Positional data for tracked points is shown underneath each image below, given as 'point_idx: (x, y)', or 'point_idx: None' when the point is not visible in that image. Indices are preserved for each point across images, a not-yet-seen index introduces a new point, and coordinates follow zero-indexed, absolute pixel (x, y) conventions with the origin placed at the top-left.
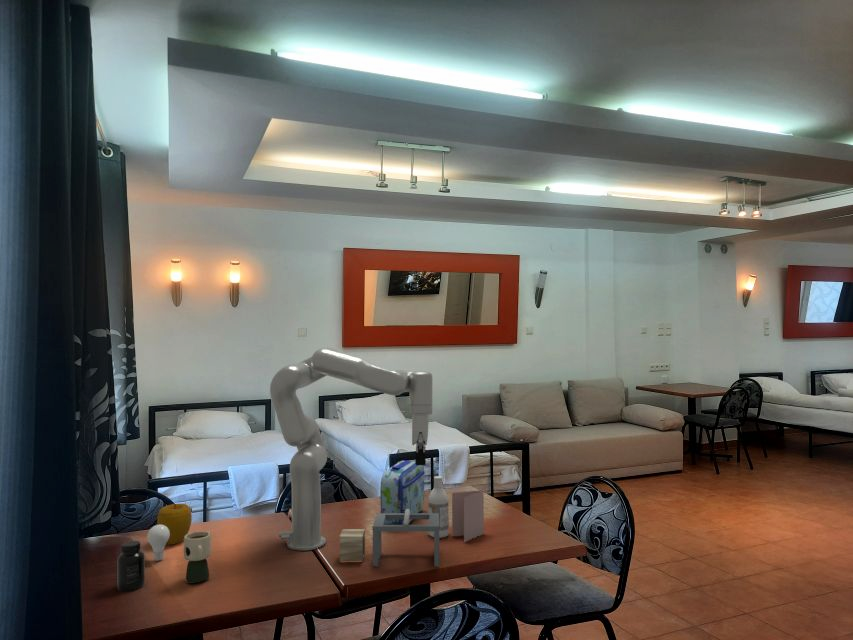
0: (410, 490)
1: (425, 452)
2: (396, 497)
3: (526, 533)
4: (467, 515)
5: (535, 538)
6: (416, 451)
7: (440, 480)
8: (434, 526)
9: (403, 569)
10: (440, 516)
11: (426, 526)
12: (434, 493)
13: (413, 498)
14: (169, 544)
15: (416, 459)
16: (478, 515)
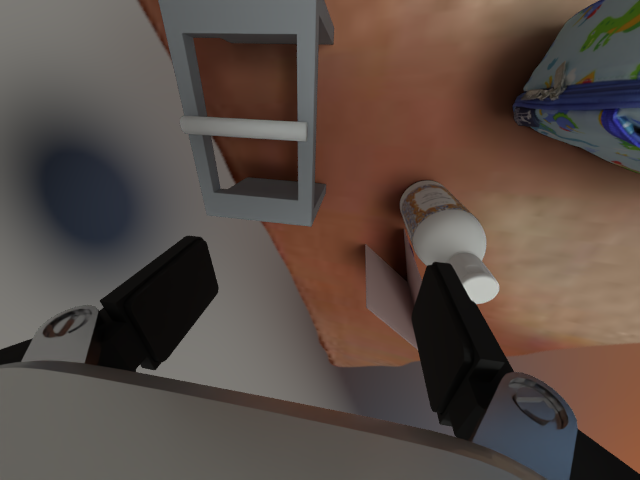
0: (631, 149)
1: (149, 368)
2: (581, 75)
3: (392, 335)
4: (375, 282)
5: (367, 338)
6: (51, 319)
7: None
8: (204, 204)
9: (226, 112)
10: (406, 224)
11: (200, 184)
12: (439, 241)
13: (625, 156)
14: None
15: (162, 263)
16: (402, 300)
